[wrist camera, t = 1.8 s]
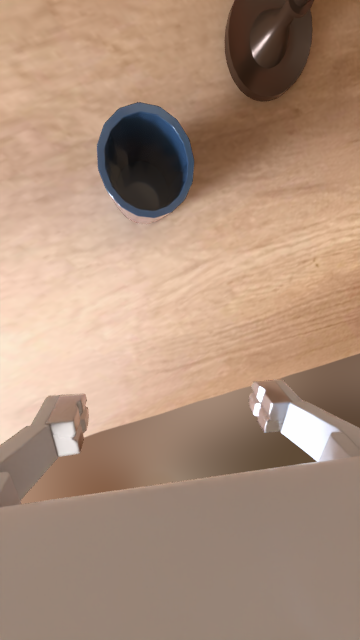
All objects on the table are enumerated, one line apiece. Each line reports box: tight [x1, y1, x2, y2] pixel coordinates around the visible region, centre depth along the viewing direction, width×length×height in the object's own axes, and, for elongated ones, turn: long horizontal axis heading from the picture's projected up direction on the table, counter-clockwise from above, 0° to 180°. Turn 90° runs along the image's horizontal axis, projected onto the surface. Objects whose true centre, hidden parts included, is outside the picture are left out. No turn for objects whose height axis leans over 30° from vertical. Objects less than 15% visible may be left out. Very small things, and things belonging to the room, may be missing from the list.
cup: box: [97, 102, 194, 224], centre depth 20 cm, size 7×7×11 cm
